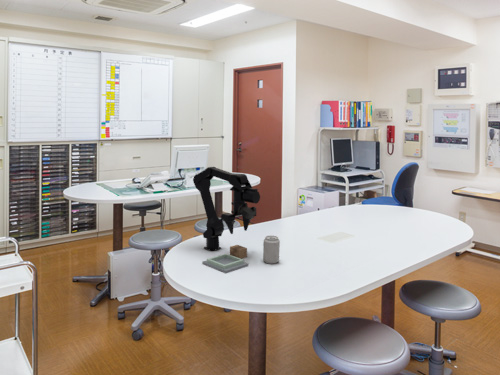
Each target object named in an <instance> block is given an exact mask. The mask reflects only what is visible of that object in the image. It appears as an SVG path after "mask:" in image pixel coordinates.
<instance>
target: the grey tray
mask: <svg viewBox="0 0 500 375" xmlns="http://www.w3.org/2000/svg"><path fill="white" fill-rule="evenodd" d="M201 262H202V263H201V264H202V265H204V266H207V267H210V268H211V269H214V270H217V271H219V272H222V273H224V274H228V273H230V272H234V271H237V270H240V269H243V268H246V267H249V263H248V262H245V260H244V258H241V259H240V258H237V257H235V256H232V255H230V253H222V254H220V255H217V256H213V257H209V258H207V259H206V260H204V261H201Z"/></svg>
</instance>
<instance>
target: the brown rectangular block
mask: <svg viewBox="0 0 500 375" xmlns="http://www.w3.org/2000/svg"><path fill="white" fill-rule="evenodd" d="M229 255H232V256H235V257H237V258H240V259H245V258H247V257H248V248H247V247H245V246H242V245H240V244H235V245H232V246H229Z"/></svg>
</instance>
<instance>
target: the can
mask: <svg viewBox="0 0 500 375" xmlns="http://www.w3.org/2000/svg"><path fill="white" fill-rule="evenodd" d="M280 241H281V240H280V239H279V236H277V235H265V237H264V239H263V248H262V249H263V252H262V260H263V262H264V263H266V264H271V265H272V264H277V263H278V262H279V261H280V246H281V245H280V244H281V242H280Z"/></svg>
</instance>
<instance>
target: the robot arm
mask: <svg viewBox="0 0 500 375" xmlns="http://www.w3.org/2000/svg"><path fill="white" fill-rule="evenodd" d="M214 177H215V178H217V179H220V180H223V181H226V182H228V183H229V185H231V186H232V187H230V189H229V191H232V192H233V194H232V195H233V198H232V200H233V201H232V202H231V205H232V206H233V207H232V208H233V209H232V210H231V213H229V212H225V213H224V212H223V213H221V215H220V218H219V217H218V215H217V212H216V211H217V210H216V207H215V204H214V201H213V197H212V193H211V190H210V189H211V186H212V185H211V180H212V179H214ZM192 182H193V184H194V186H195V188H196V189H197V190H198V191H199V193H200V196H201V201H202V204H203V207H204V211H205V215H206V218H207V221H206V225H205V226H206V230H204V232H203V233H202V236H203V238H204V239H206V240H205V241H206V242H205V246H204V247H203V249H205V250H208V251H210V252H213V251H217V250H220V249H222V247H221V246H220V237H222V235H223V232H224V231H225V224H226V227H227V228H228V231H229V233H230V234H231V235H233V234H234V224H235V223H236V221H235V220H236V218H239V217H240V218H241V217H242V224H243V231H244V232H246V231H247V230H248V227H249V225H250V223H251V220H253V219H254V218H255V217H257V207H255V206H251V207H250V206H248V203H250V204H258V203H260V200H261V195H260V192H259V191H258V188H253V187H252V184H251V182H250V181H249V178H248V177H247V174H245V173H234V172H233V173H232V172H230V171H227V170H223V169H220V168H219V167H218V168H217V167H215V166H209V167H206V168H205V169H204V170H202V171H201V172H199V173H197V174H195V175H194V176H193V178H192ZM224 223H225V224H224Z"/></svg>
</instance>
